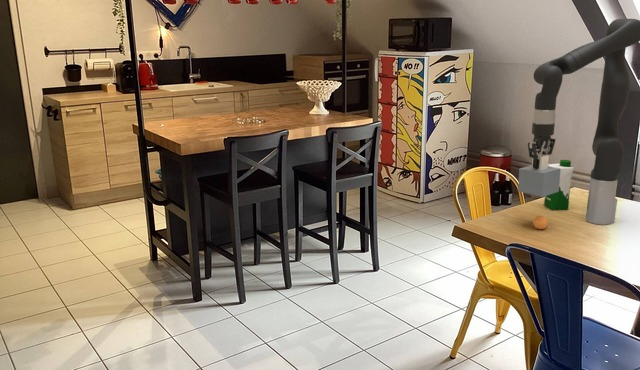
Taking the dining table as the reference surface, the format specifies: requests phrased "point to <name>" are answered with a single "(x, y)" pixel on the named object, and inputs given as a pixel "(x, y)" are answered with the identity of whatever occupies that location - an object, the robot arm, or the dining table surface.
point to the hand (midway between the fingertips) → (539, 167)
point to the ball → (540, 222)
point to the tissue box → (539, 178)
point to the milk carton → (561, 187)
